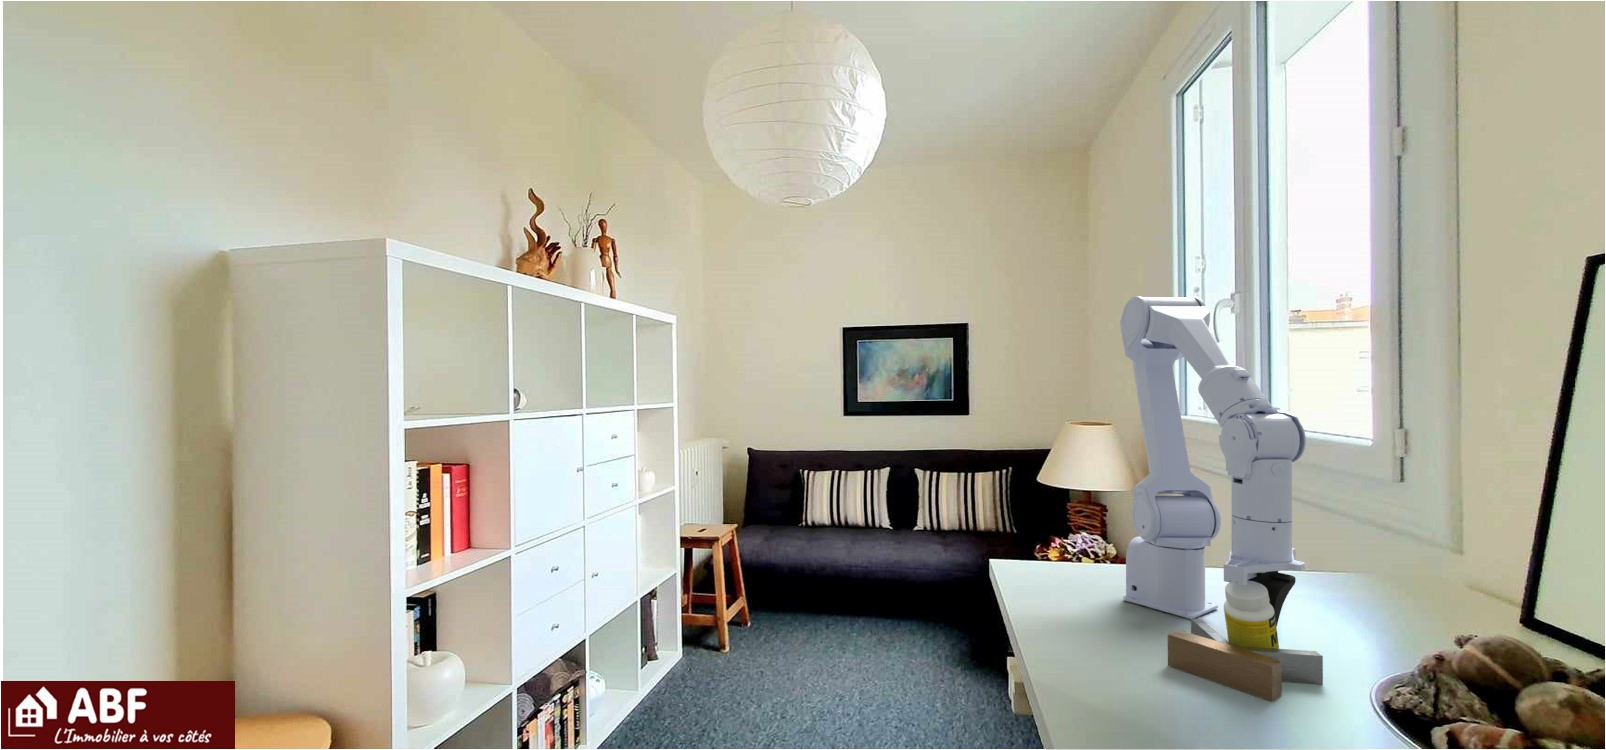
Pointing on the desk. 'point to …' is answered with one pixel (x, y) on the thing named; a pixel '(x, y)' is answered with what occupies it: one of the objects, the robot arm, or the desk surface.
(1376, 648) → the desk surface
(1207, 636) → the v block
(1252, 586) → the supplement bottle
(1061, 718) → the desk surface
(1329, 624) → the desk surface
